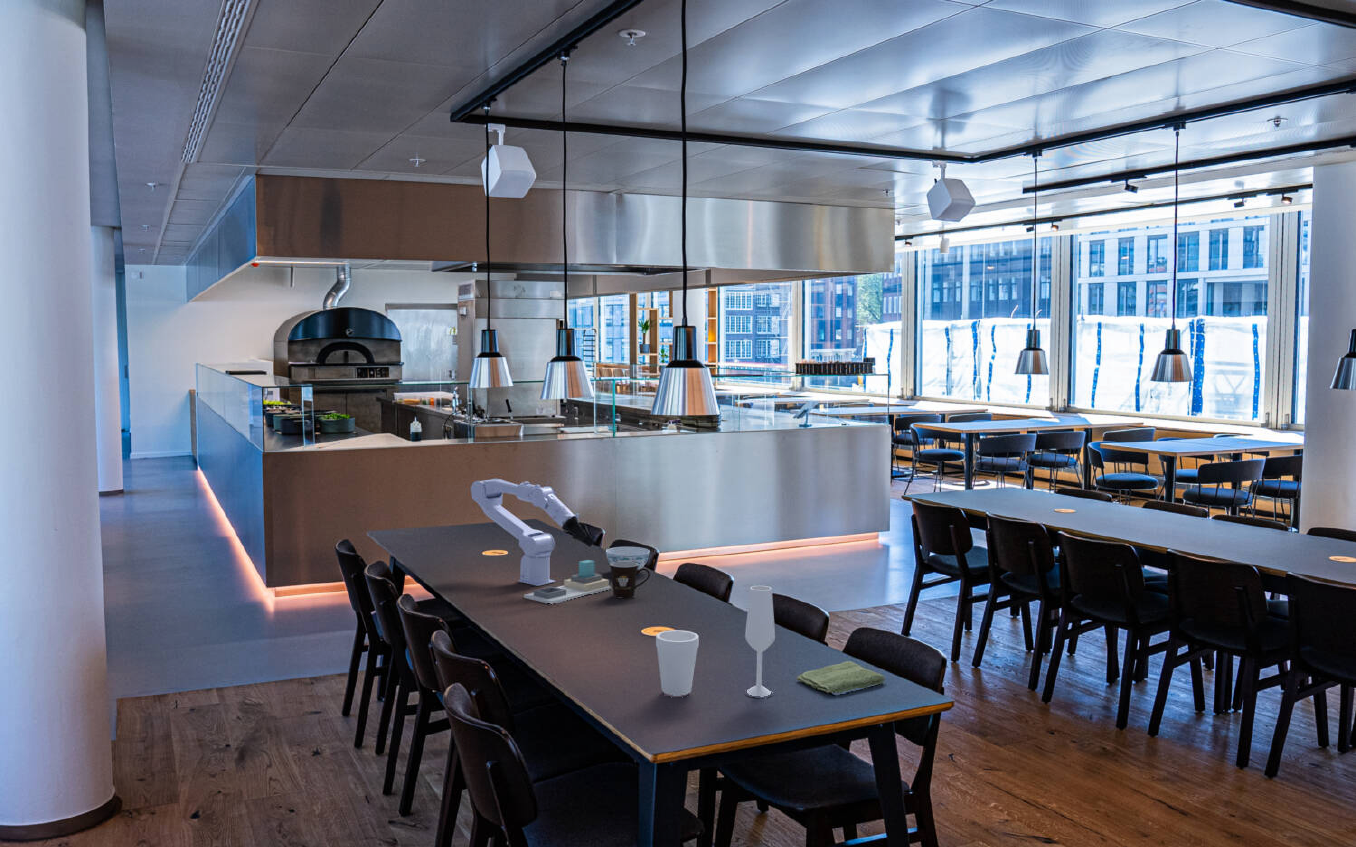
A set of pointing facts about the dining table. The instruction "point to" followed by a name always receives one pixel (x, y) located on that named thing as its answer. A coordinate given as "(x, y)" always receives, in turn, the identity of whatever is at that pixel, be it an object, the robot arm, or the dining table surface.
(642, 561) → the chinaware
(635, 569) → the coffee mug
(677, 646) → the foam cup
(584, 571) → the plug
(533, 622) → the dining table surface
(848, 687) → the washcloth
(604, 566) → the dining table surface
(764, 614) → the champagne flute
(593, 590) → the panel
